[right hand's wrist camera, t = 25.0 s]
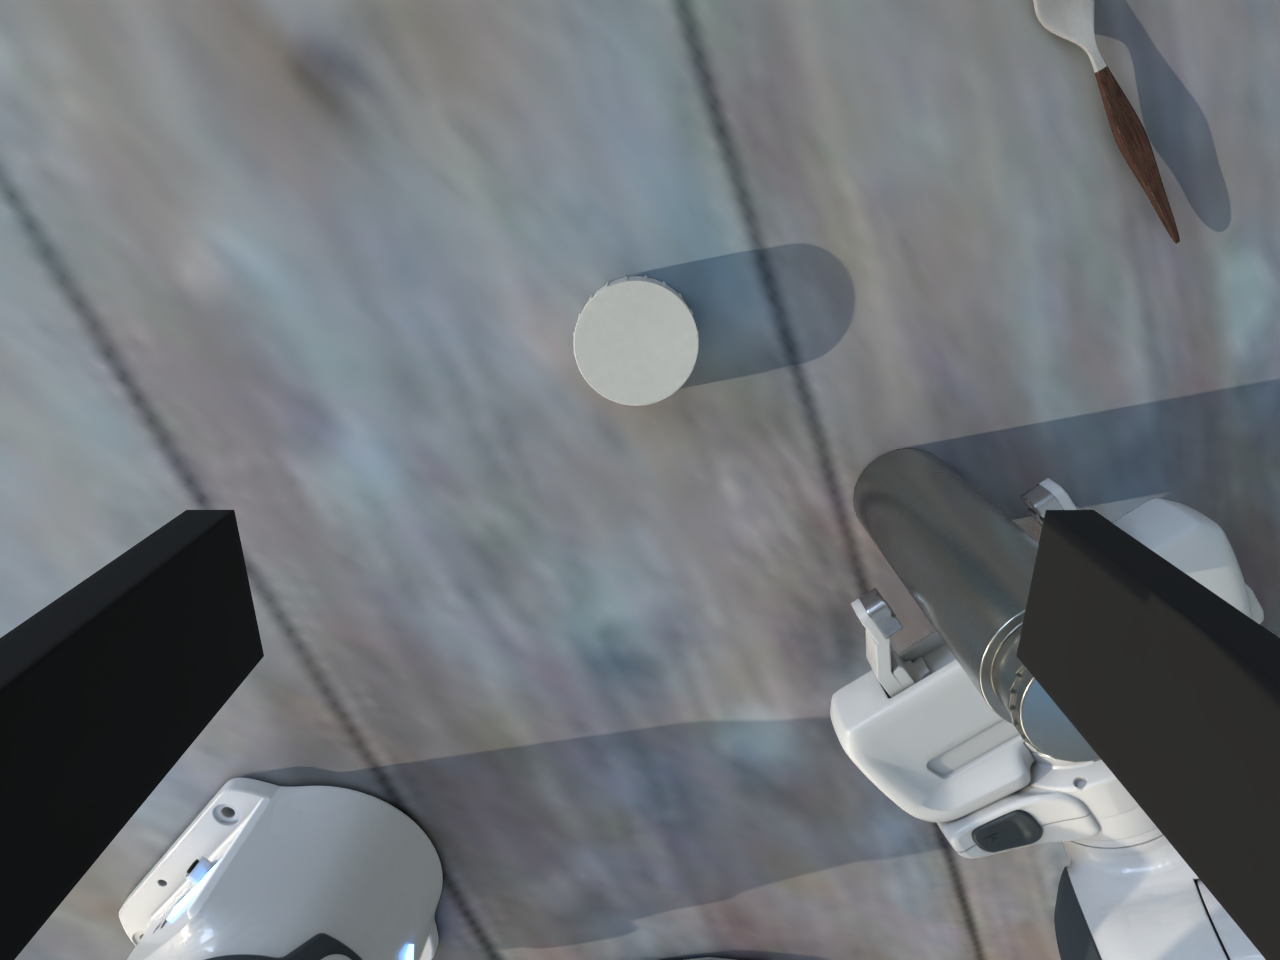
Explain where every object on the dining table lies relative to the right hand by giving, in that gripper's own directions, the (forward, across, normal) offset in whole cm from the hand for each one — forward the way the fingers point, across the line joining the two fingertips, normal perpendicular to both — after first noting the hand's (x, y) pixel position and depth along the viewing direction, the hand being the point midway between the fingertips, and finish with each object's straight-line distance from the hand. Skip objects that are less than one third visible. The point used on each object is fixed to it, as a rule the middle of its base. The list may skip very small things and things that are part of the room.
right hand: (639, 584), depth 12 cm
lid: (+26, 0, -1) cm, 26 cm away
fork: (+28, +21, +10) cm, 37 cm away
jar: (+28, +14, -9) cm, 33 cm away
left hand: (+21, +15, -10) cm, 28 cm away
